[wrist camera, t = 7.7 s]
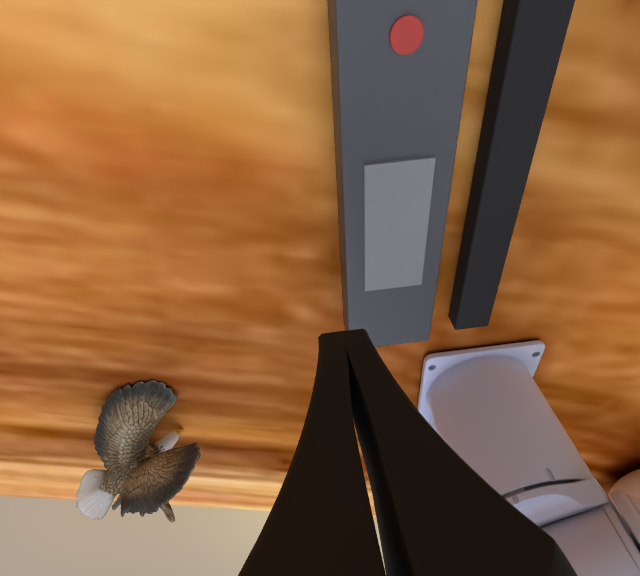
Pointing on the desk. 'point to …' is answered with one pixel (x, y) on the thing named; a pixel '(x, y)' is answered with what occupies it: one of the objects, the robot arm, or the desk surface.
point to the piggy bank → (628, 485)
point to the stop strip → (506, 148)
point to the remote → (395, 153)
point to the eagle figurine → (136, 455)
